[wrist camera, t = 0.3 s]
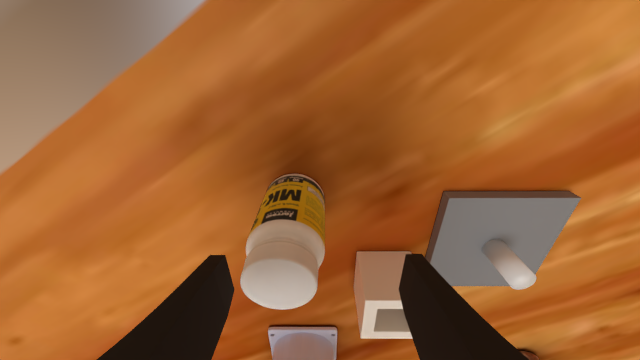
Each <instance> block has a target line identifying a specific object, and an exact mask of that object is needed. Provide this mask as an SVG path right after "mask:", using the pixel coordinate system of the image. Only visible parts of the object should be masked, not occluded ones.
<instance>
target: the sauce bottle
mask: <svg viewBox="0 0 640 360" xmlns="http://www.w3.org/2000/svg"><path fill="white" fill-rule="evenodd" d="M520 352H521V353H522V354H523V355H524V356H526V357H527V358H528V359H529V360H539V358H538V357H537V356H536V355H534V354H533V353H531V352H526V351H520Z"/></svg>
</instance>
